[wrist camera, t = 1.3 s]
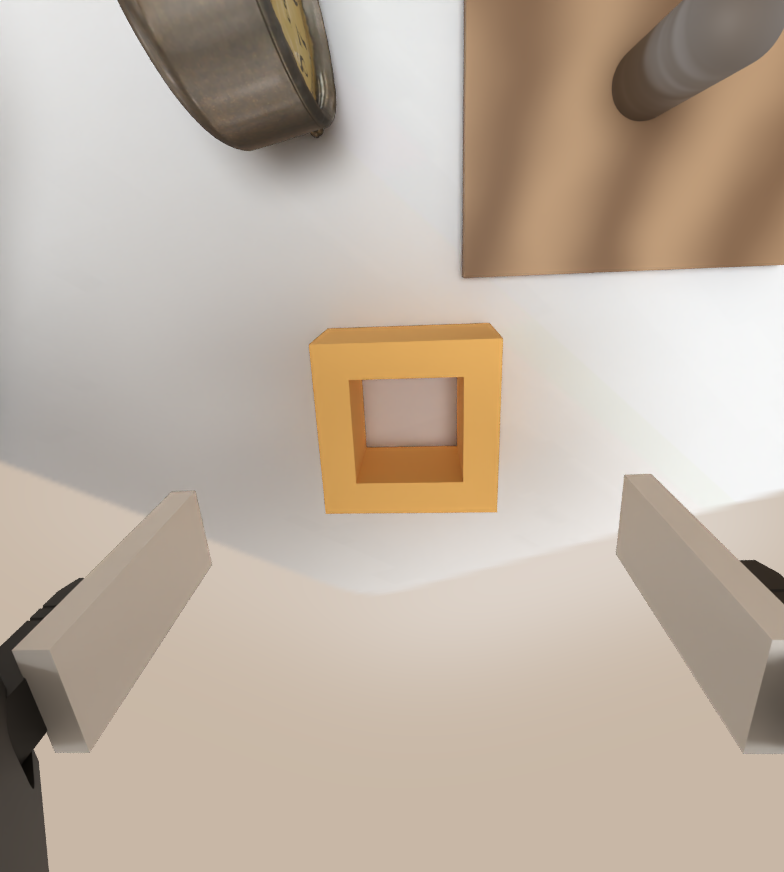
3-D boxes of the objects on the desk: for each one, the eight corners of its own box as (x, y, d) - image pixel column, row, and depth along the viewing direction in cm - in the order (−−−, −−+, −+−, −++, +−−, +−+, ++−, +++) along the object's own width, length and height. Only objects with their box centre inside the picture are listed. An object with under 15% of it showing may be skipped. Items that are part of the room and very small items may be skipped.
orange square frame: (340, 473, 31) (325, 513, 27) (327, 328, 28) (308, 344, 23) (485, 471, 31) (496, 512, 26) (489, 323, 27) (502, 338, 23)
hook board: (462, 276, 27) (477, 288, 19) (464, -121, 21) (489, -331, 13) (776, 263, 26) (927, 270, 18) (867, -159, 20) (1143, -412, 12)
